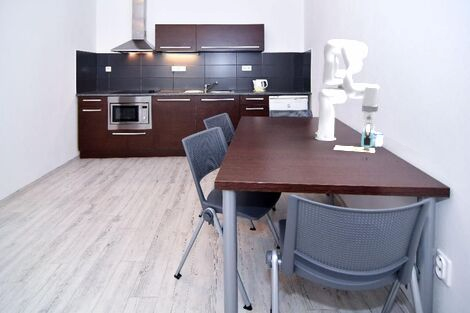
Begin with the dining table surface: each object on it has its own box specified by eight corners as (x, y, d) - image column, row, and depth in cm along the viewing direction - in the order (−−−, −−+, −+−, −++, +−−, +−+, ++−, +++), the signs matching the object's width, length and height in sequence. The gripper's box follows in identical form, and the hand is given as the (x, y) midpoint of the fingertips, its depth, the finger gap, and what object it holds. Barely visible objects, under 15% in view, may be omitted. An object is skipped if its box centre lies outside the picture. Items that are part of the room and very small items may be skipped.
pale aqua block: (361, 146, 195) (362, 133, 193) (361, 144, 200) (362, 131, 198) (372, 146, 193) (373, 134, 191) (372, 145, 198) (373, 132, 196)
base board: (333, 152, 197) (333, 149, 196) (335, 148, 208) (335, 145, 207) (374, 155, 190) (374, 152, 190) (374, 150, 201) (374, 148, 201)
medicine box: (365, 146, 213) (367, 131, 211) (372, 146, 214) (373, 131, 213) (375, 149, 206) (377, 133, 204) (382, 148, 207) (383, 133, 205)
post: (363, 149, 196) (364, 136, 194) (363, 148, 198) (364, 136, 197) (369, 150, 195) (370, 137, 193) (369, 149, 198) (370, 136, 196)
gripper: (377, 111, 183) (374, 147, 187) (377, 108, 199) (374, 142, 203) (361, 110, 186) (358, 146, 189) (362, 107, 201) (359, 141, 205)
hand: (366, 144), depth 196 cm, fingers open, 5 cm apart
